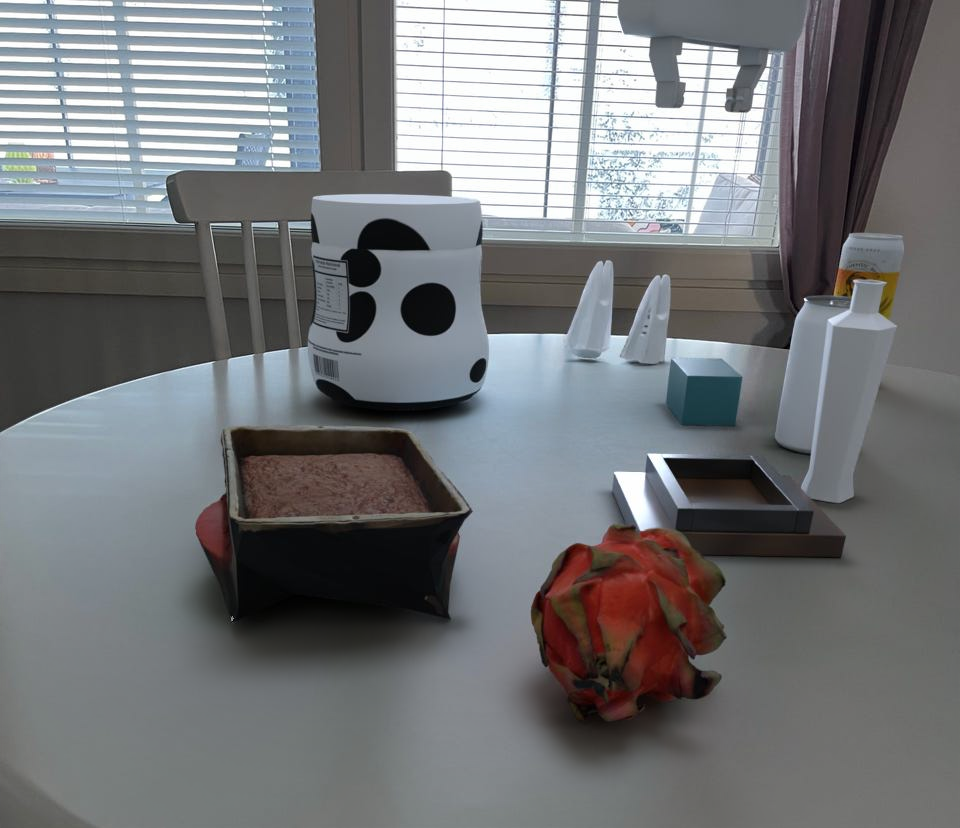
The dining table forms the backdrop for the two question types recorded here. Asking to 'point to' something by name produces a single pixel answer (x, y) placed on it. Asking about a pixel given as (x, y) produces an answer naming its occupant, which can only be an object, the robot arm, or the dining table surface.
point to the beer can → (871, 265)
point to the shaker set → (596, 313)
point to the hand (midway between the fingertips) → (704, 110)
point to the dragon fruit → (629, 621)
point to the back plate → (727, 506)
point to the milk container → (397, 300)
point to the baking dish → (332, 519)
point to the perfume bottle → (848, 391)
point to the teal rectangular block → (703, 391)
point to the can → (805, 372)
